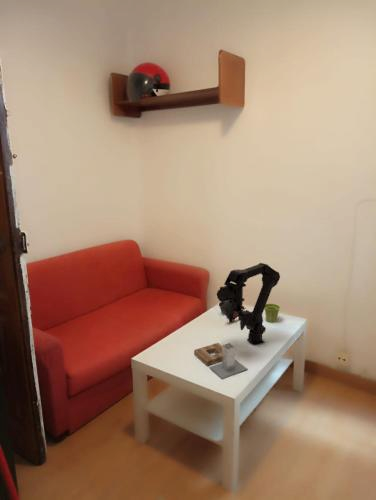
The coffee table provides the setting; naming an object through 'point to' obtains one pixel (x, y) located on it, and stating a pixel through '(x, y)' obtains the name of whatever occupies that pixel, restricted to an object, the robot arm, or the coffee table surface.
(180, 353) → the coffee table surface
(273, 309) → the plant pot
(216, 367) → the grey mat
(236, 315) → the decorative bird figurine
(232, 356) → the steel key bar
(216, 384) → the coffee table surface
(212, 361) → the brown wooden frame
